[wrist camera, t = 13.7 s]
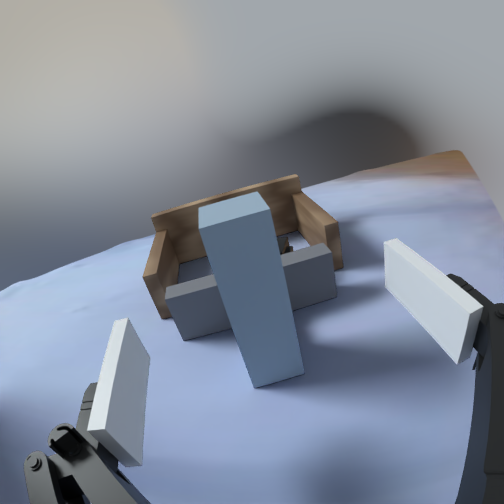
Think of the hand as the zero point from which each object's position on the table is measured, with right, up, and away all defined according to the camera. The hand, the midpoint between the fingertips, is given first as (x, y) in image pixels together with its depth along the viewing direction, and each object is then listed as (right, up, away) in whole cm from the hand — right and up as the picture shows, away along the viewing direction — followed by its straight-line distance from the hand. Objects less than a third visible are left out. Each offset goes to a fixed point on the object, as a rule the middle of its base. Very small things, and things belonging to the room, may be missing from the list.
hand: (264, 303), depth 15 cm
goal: (-2, +1, +22) cm, 22 cm away
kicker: (+1, -4, +10) cm, 11 cm away
